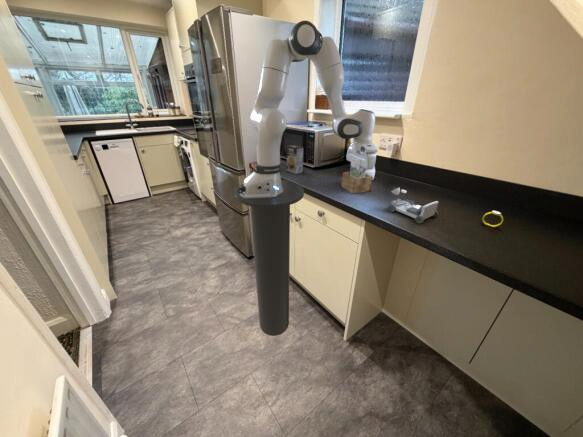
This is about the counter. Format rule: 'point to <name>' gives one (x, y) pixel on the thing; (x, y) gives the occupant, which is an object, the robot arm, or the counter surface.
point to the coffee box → (294, 159)
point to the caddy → (356, 183)
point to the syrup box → (356, 168)
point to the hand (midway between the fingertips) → (357, 173)
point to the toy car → (413, 207)
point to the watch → (494, 214)
